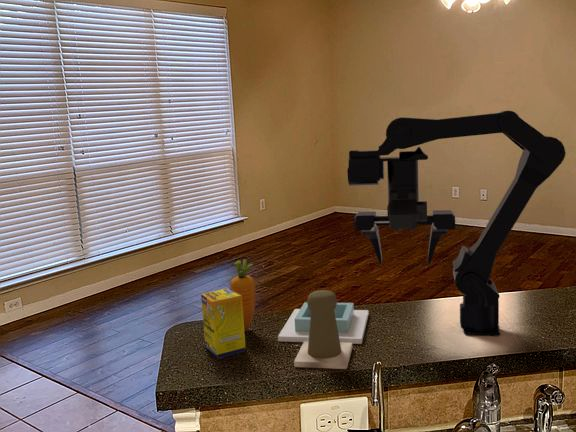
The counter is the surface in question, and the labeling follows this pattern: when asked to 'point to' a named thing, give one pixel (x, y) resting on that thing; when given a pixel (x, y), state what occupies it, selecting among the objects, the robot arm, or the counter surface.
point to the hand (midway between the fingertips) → (404, 263)
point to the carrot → (245, 291)
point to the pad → (335, 362)
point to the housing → (346, 318)
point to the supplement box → (223, 322)
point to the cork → (323, 325)
